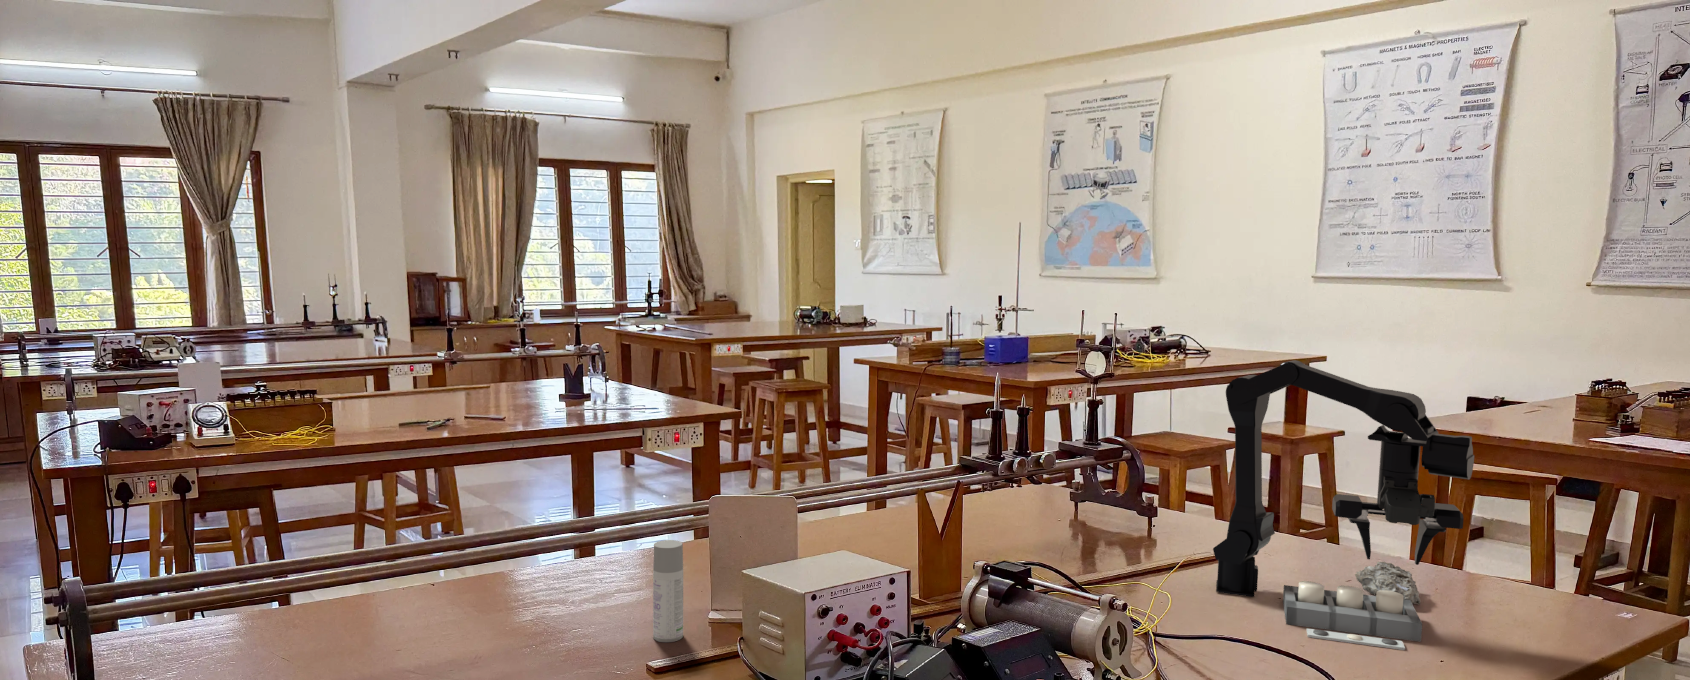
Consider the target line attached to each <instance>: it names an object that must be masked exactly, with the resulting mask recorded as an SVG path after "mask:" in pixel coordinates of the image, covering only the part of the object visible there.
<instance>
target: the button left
mask: <svg viewBox="0 0 1690 680" xmlns="http://www.w3.org/2000/svg"><path fill="white" fill-rule="evenodd" d="M1298 587H1299V589H1298V602H1306V603H1314V604H1322V605H1323V601H1324V590H1325V585H1324V584H1322V583H1320V582H1316V581H1309V580H1308V581H1307V580H1304V581H1299V582H1298Z"/></svg>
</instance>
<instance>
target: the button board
mask: <svg viewBox="0 0 1690 680" xmlns="http://www.w3.org/2000/svg"><path fill="white" fill-rule="evenodd" d="M1298 589H1299V586H1296V585H1289V584H1288V585H1286V584H1284V585H1283V591H1282V592H1283V593H1282V604H1283V613H1284V619H1285V625H1291V626H1299V627H1306V628H1311V629H1319V630H1326V631H1334V632H1342V633H1349V634H1357V635H1358V634H1359V635H1364V636H1367V635H1368V636H1372V637H1379V638H1381V637H1382V638H1387V639H1395V640H1404V641H1411V642H1419V643H1421V642H1422V632H1423V622H1422V621H1421V619H1420V616H1419V615H1418V613H1417V610H1416V609H1415V607H1414V605H1413V604H1412V603H1411V601H1410V600H1404V599H1403V612H1402V614H1394V613H1386V612H1378V611H1375V608H1376V596H1375V595H1371V594H1363V607H1362V609H1354V608H1346V607H1338V606H1336V599H1337V590H1328V589H1324V601H1323V605H1322V604H1314V603H1306V602H1298Z"/></svg>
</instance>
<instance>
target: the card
mask: <svg viewBox="0 0 1690 680" xmlns="http://www.w3.org/2000/svg"><path fill="white" fill-rule="evenodd" d="M1306 636H1307V638H1313V639H1318V640H1319V639H1320V640H1327V641H1335V642H1342V643H1347V644H1348V643H1349V644H1357V645H1363V646H1372V647H1380V648H1387V649H1394V650H1400V651H1406V647H1405V644H1404V642H1403V641H1402V640H1399V639H1393V638H1384V637H1382V638H1381V637H1376V636H1369V635H1368V636H1367V635H1361V634H1359V635H1358V634H1356V633H1346V632H1339V631H1331V630H1325V629H1316V628H1306Z"/></svg>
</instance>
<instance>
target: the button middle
mask: <svg viewBox="0 0 1690 680" xmlns="http://www.w3.org/2000/svg"><path fill="white" fill-rule="evenodd" d="M1336 591H1337V599H1336V606H1338V607H1346V608H1354V609H1362V607H1363V595H1364V590H1363V588H1359V587H1356V586H1352V585H1351V586H1350V585H1339V586H1337V587H1336Z"/></svg>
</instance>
